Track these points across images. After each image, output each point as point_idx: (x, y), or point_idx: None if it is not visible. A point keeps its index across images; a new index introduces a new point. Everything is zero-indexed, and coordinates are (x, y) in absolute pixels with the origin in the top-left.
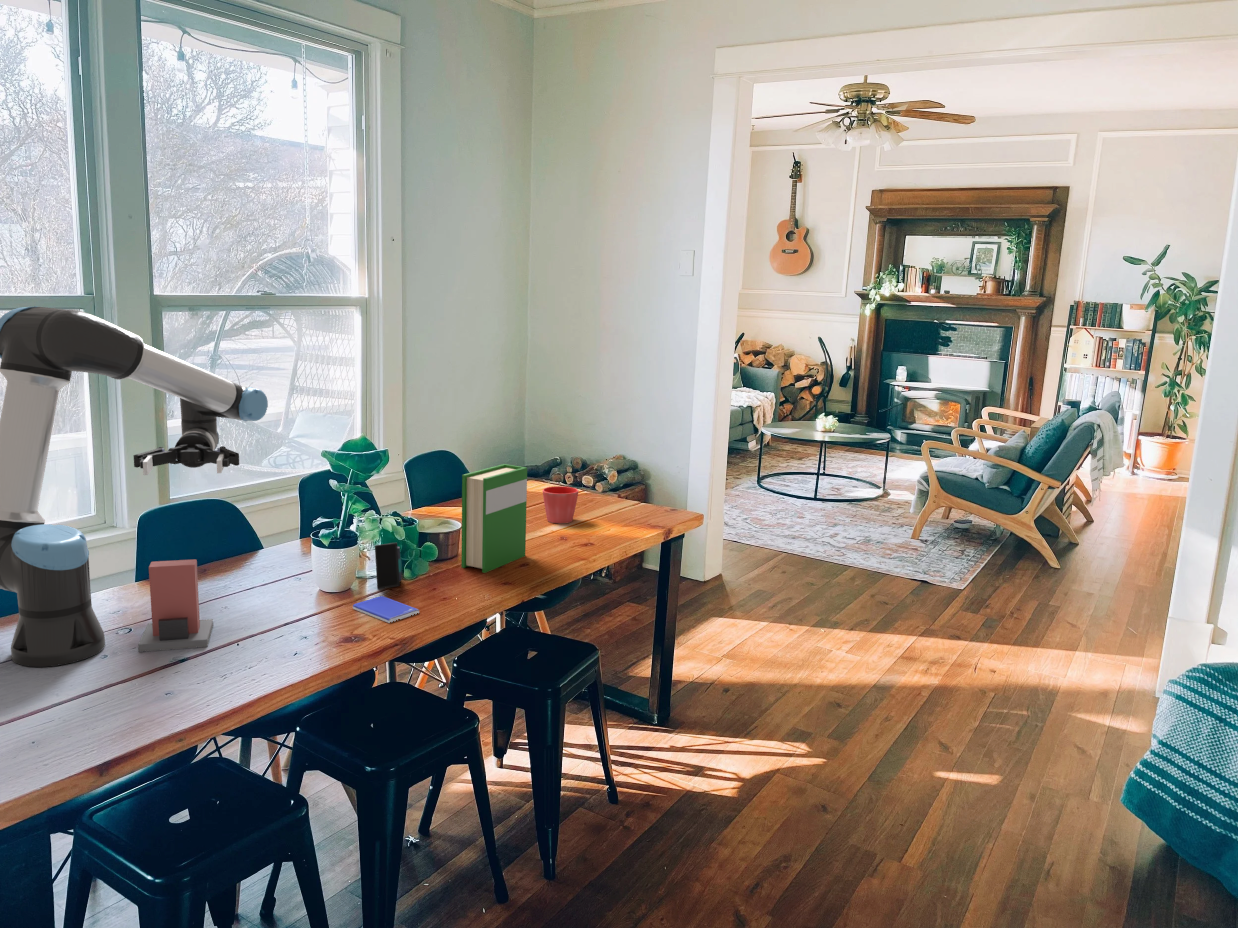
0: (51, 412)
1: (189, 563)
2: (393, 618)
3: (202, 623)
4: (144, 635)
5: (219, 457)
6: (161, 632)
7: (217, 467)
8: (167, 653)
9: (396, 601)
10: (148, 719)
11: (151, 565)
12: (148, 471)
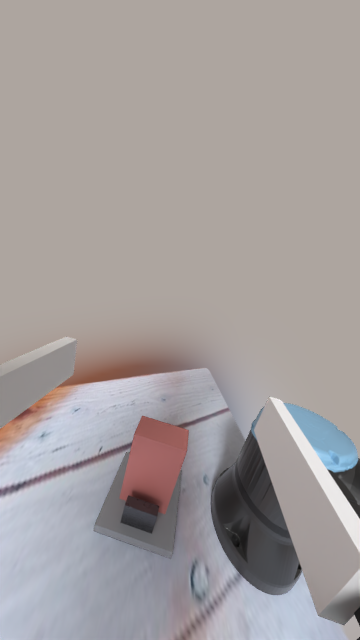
0: None
1: (146, 422)
2: None
3: (112, 510)
4: (176, 496)
5: (27, 359)
6: None
7: (73, 359)
8: None
9: None
10: (173, 384)
11: (186, 434)
12: (262, 439)
